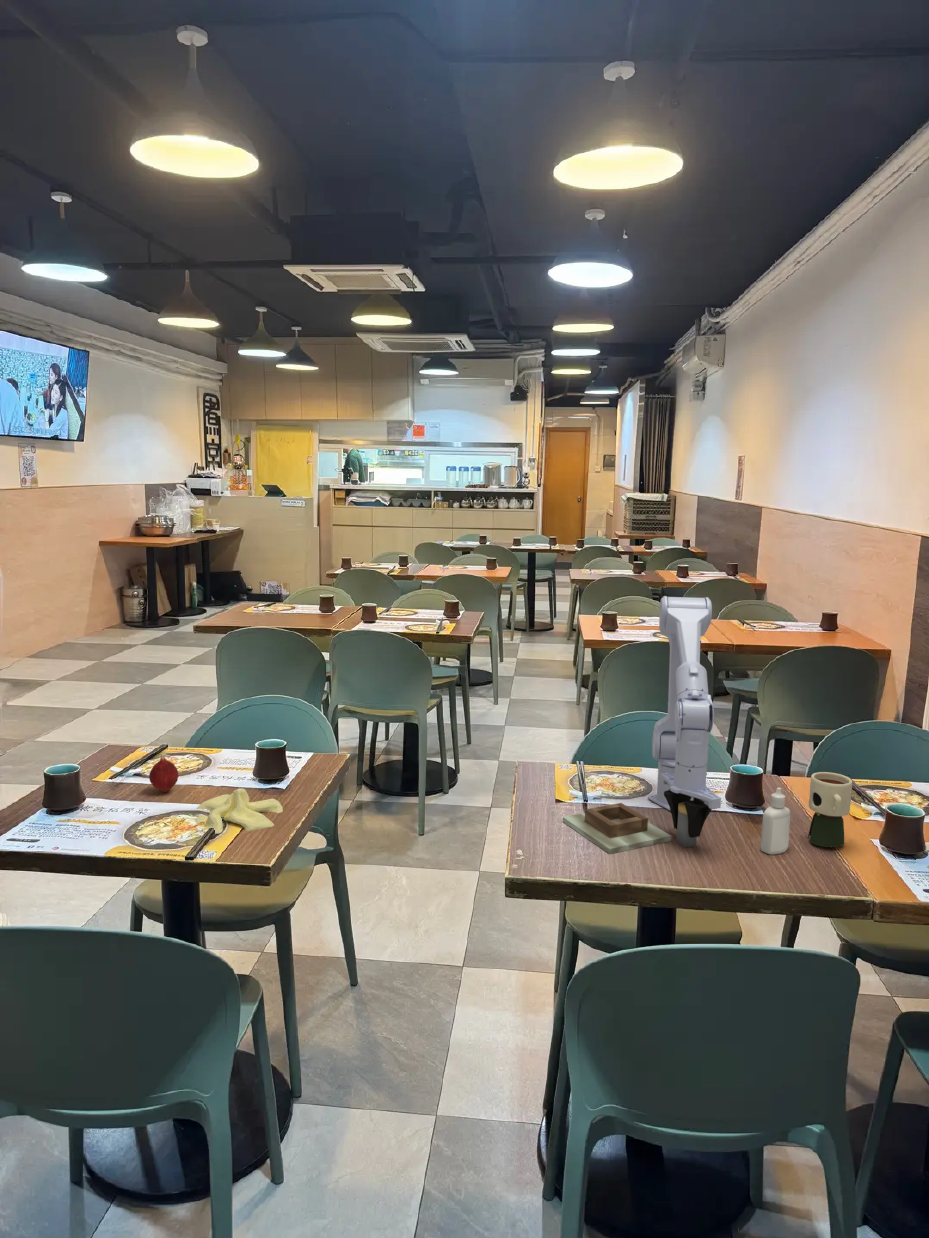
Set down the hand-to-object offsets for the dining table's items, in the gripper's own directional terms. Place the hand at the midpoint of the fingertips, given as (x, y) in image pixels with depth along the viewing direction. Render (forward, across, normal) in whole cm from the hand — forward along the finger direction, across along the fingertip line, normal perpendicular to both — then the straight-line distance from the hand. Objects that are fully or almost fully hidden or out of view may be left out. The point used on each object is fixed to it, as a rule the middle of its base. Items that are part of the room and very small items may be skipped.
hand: (686, 831), depth 157 cm
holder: (+2, -10, -9) cm, 14 cm away
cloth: (+3, -47, -75) cm, 88 cm away
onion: (+2, -66, -86) cm, 108 cm away
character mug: (+2, +11, +24) cm, 27 cm away
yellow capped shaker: (+2, 0, 0) cm, 2 cm away
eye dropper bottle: (+2, +9, +13) cm, 16 cm away
